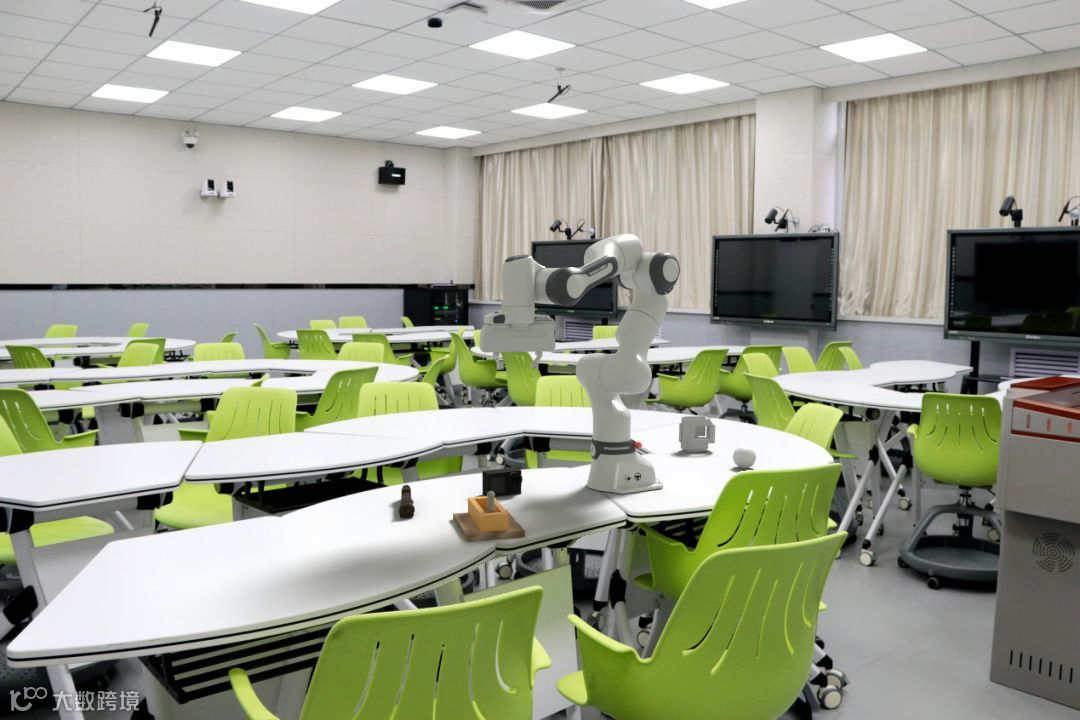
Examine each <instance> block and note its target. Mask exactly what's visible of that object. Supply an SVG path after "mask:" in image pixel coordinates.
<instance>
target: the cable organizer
mask: <svg viewBox="0 0 1080 720" xmlns="http://www.w3.org/2000/svg"><path fill="white" fill-rule="evenodd" d="M678 442H679V443H680V449H681V450H682V451H684V452H686V453H705V452H706V451H707V450H709V444H715V443H716V425H715V423H714V422H712V421H711V419H710V418H706V417H705V415H695V416H693V415H690V416H682V417H681V422H679V424H678Z"/></svg>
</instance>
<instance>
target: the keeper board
mask: <svg viewBox="0 0 1080 720" xmlns="http://www.w3.org/2000/svg"><path fill="white" fill-rule="evenodd" d="M495 498H496V497H495V493H494V492H493V491H489V492H488V493H487V513H494V507H495ZM505 510H506V511H507V512H508V513H509V530H500V531H489V532H481V530H480V529H479V528H478V526H477V525H476V523H475V522H474V521H473V519H472V518H471V517H470V515H469V514H468V511H467V512H456V513H452V521H454V523H455V524H456V526H457V528H458V529H459V531H460V532H461V534H462V536H463V537H464V539H465V540H466V542H468V543H469V542H478V541H491V540H501V539H502V540H503V539H513V538H523V537H526V530H525V528H524V527H523V526H522V525H521V524H520V523H519V522H518V520H517V519H516V518H515V517H514V516H513V515H512V514H511V513H510V511H508V510H507V509H505Z"/></svg>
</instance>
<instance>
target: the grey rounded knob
mask: <svg viewBox="0 0 1080 720" xmlns="http://www.w3.org/2000/svg"><path fill="white" fill-rule="evenodd" d="M732 454H733V455H732V459H733V463H734V465H736V466H737V467H739V468H741V469H749V468H752V466H754V464H755V463H756V459H757V456H756V452H755V450H754V449H753V448H752V447H751V446H747V445H740V446H738V447H736V448H735V450H734V451H733V453H732Z"/></svg>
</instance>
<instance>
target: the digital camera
mask: <svg viewBox="0 0 1080 720" xmlns="http://www.w3.org/2000/svg"><path fill="white" fill-rule="evenodd" d="M481 472H482V476H481V477H482V483H481V484H482V487H481V488H482V489H481V490H482V495H483V497H484V496H487V493H488V492H489V491H493V492H494V493H495V498H498V497H500V498H501V497H506V496H507V497H508V496H515V494H516V495H521V494H522V483H523V476H522V469H519V468H518V467H515V466H514V467H506V468H505V467H504V468H495V469H488V470H482V471H481Z"/></svg>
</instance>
